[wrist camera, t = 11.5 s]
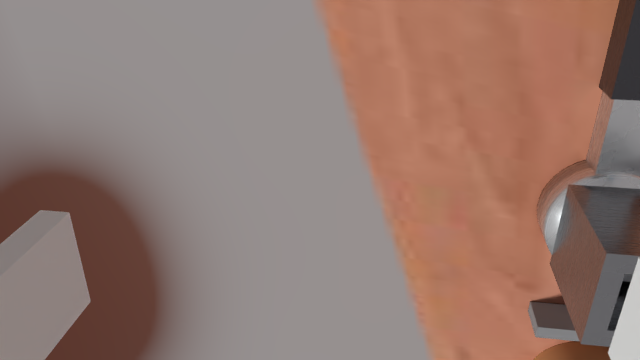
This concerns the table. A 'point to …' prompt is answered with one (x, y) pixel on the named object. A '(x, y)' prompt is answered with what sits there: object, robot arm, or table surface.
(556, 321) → the bar
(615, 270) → the socket
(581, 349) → the tan slotted hollow cylinder
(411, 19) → the table surface
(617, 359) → the robot arm
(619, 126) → the ratchet
